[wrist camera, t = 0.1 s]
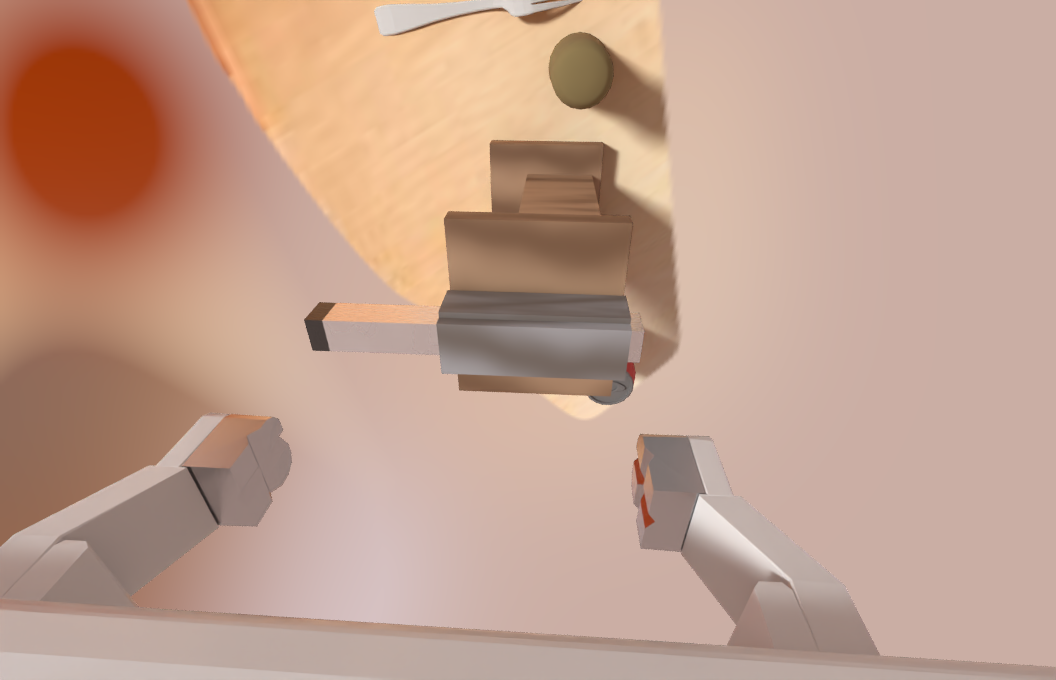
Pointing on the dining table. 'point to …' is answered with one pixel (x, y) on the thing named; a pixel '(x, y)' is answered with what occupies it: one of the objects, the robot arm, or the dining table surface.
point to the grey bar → (396, 329)
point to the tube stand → (538, 278)
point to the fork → (450, 12)
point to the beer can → (618, 388)
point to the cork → (580, 70)
